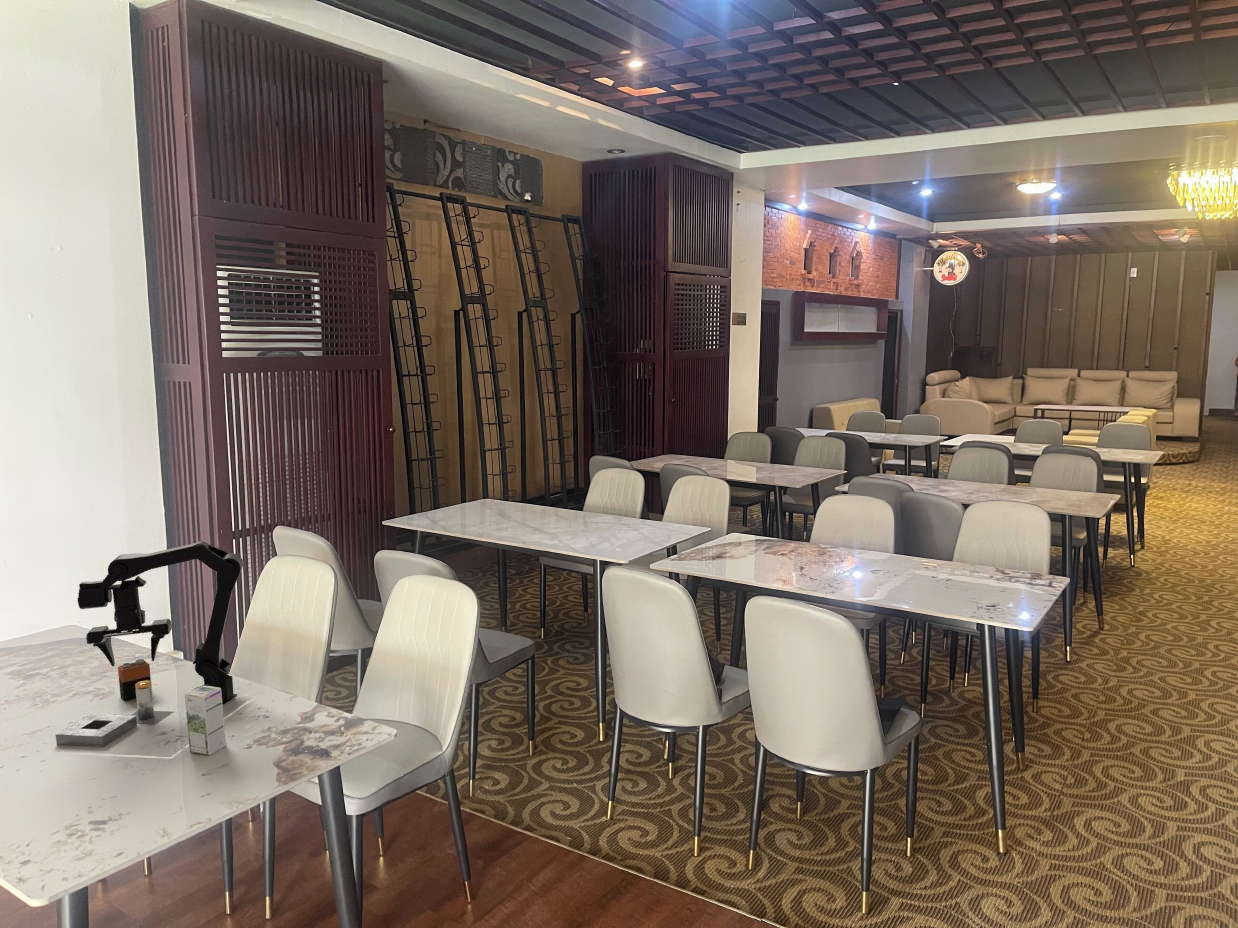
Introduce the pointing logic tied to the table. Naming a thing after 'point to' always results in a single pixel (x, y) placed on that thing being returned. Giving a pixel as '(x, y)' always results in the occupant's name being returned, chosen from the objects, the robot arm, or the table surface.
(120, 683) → the battery
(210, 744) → the syrup box
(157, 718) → the mat
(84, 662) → the table surface
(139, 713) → the silver copper cylinder
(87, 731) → the block
